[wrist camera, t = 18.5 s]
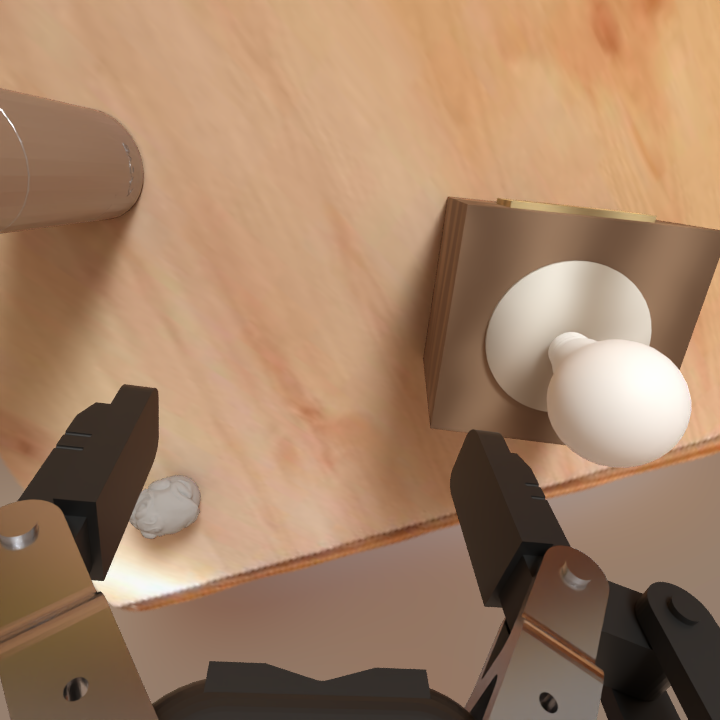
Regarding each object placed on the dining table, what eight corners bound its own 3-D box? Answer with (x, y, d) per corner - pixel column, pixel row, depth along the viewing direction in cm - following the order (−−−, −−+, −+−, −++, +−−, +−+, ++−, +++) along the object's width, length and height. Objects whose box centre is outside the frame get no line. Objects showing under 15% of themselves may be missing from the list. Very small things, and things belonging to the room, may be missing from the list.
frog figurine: (146, 465, 54) (111, 504, 48) (205, 459, 53) (178, 498, 47) (162, 510, 56) (130, 553, 50) (219, 505, 55) (195, 549, 49)
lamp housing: (423, 358, 47) (430, 430, 34) (448, 191, 42) (469, 197, 28) (579, 377, 46) (651, 458, 33) (626, 210, 41) (735, 225, 27)
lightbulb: (635, 352, 30) (749, 445, 20) (551, 407, 32) (616, 517, 22) (580, 279, 29) (673, 338, 19) (496, 340, 31) (538, 424, 21)
